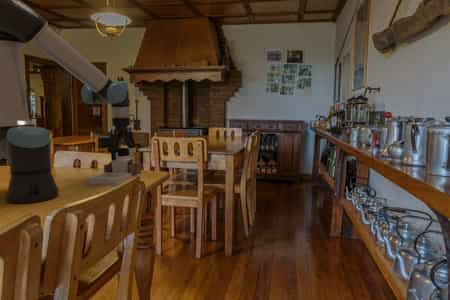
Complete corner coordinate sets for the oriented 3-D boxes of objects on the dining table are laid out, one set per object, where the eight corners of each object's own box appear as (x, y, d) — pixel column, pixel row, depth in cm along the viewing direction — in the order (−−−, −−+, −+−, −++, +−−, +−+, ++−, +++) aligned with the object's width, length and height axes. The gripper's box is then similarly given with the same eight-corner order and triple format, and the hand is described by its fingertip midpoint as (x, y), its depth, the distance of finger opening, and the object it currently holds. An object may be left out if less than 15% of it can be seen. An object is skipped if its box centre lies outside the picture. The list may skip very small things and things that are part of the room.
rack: (130, 177, 140) (130, 166, 140) (104, 176, 143) (103, 165, 142) (141, 172, 150) (140, 162, 149) (116, 171, 153) (116, 161, 152)
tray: (116, 185, 126) (116, 179, 126) (88, 183, 128) (88, 178, 128) (131, 178, 138) (131, 173, 137) (105, 177, 140) (105, 172, 140)
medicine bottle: (128, 176, 143) (127, 149, 141) (112, 176, 143) (111, 149, 141) (133, 173, 150) (132, 147, 148) (118, 173, 150) (117, 147, 149)
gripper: (113, 118, 130) (116, 170, 133) (141, 116, 155) (143, 160, 157) (96, 118, 132) (99, 169, 135) (127, 116, 156) (129, 159, 159)
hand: (123, 164), depth 146 cm, fingers open, 13 cm apart
